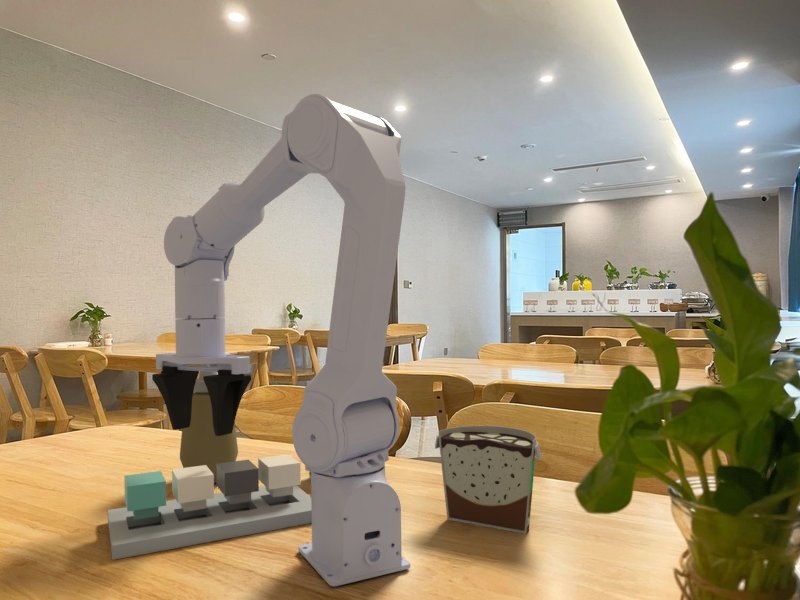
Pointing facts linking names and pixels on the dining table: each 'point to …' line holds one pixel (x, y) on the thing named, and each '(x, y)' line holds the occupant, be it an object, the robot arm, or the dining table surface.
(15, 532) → the dining table surface
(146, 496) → the teal key
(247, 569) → the dining table surface
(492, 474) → the food container
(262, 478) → the near ivory key
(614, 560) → the dining table surface
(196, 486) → the middle ivory key
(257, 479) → the dark gray key
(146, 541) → the selector panel
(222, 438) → the squeeze bottle
